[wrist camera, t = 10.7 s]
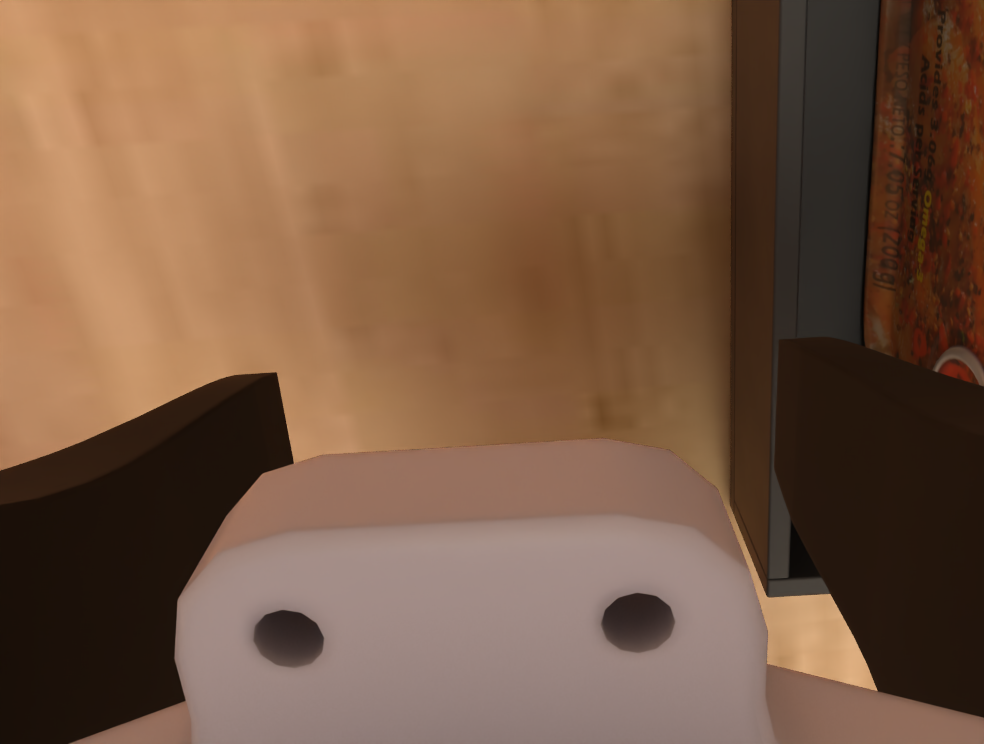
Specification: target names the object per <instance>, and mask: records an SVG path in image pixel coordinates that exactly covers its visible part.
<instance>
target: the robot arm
mask: <svg viewBox="0 0 984 744" xmlns="http://www.w3.org/2000/svg"><path fill="white" fill-rule="evenodd" d="M774 470H775V473H776V477H777V480H778V483H779V486H780V489H781V492H782V495H783V498H784V501H785V504H786V506H787V509H788V512H789V515H790V518H791V520H792V523H793V525H794V527H795V529H796V530H797V532H798V534H799V536H800V538H801V540H802V542H803V544H804V546H805V548H806V549H807V551H808V553H809V555H810V557H811V559H812V561H813V563H814V564H815V566H816V568H817V570H818V572H819V574H820V575H821V577H822V579H823V581H824V583H825V585H826V586H827V588H828V590H829V592H830V594H831V596H832V597H833V599H834V601H835V603H836V605H837V607H838V608H839V610H840V612H841V614H842V616H843V618H844V619H845V621H846V623H847V625H848V627H849V629H850V630H851V632H852V634H853V636H854V638H855V640H856V642H857V644H858V646H859V648H860V650H861V652H862V655H863V657H864V659H865V661H866V663H867V665H868V668H869V670H870V673H871V675H872V678H873V680H874V683H875V685H876V688H877V690H878V691H874V690H870V689H866V688H862V687H858V686H854V685H850V684H846V683H842V682H838V681H834V680H830V679H826V678H822V677H818V676H814V675H810V674H806V673H802V672H797V671H793V670H789V669H785V668H781V667H777V666H773V665H769V664H767V644H768V630H767V627H766V624H765V620H764V617H763V614H762V610H761V607H760V604H759V600H758V597H757V594H756V590H755V587H754V584H753V580H752V577H751V574H750V571H749V568H748V565H747V563H746V560H745V558H744V555H743V553H742V550H741V548H740V545H739V542H738V540H737V537H736V535H735V532H734V530H733V527H732V525H731V522H730V519H729V517H728V514H727V512H726V509H725V507H724V504H723V502H722V499H721V496H720V494H719V491H718V489H717V488H716V487H715V486H713V485H712V484H711V483H710V482H708V481H707V480H706V479H705V478H704V477H702V476H701V475H700V474H699V473H697V472H696V471H695V470H694V469H693V468H691V467H690V466H689V465H688V464H686V463H685V462H684V461H683V460H682V459H680V458H679V457H678V456H677V455H675V454H674V453H673V452H672V451H671V450H668V449H662V448H656V447H651V446H645V445H639V444H634V443H628V442H623V441H617V440H611V439H606V438H597V439H581V440H564V441H547V442H530V443H513V444H496V445H479V446H463V447H446V448H429V449H412V450H395V451H378V452H361V453H344V454H328V455H320V456H317V457H314V458H310V459H307V460H304V461H301V462H298V463H295V464H294V461H293V456H292V451H291V445H290V440H289V435H288V430H287V424H286V419H285V414H284V408H283V403H282V398H281V393H280V387H279V382H278V377H277V372H275V373H259V374H244V375H234V376H229V377H225V378H222V379H219V380H217V381H214V382H211V383H209V384H207V385H204V386H202V387H200V388H198V389H195V390H193V391H191V392H189V393H187V394H185V395H183V396H180V397H178V398H176V399H174V400H172V401H170V402H168V403H166V404H164V405H162V406H160V407H158V408H156V409H153V410H151V411H149V412H147V413H145V414H143V415H141V416H139V417H137V418H134V419H132V420H130V421H128V422H125V423H123V424H121V425H119V426H116V427H114V428H112V429H110V430H107V431H105V432H103V433H101V434H98V435H96V436H94V437H92V438H89V439H87V440H85V441H83V442H80V443H78V444H75V445H73V446H70V447H68V448H65V449H62V450H60V451H57V452H54V453H52V454H49V455H46V456H43V457H40V458H37V459H34V460H32V461H29V462H26V463H23V464H20V465H17V466H14V467H11V468H7V469H4V470H1V471H0V744H984V386H981V385H978V384H974V383H971V382H968V381H964V380H961V379H957V378H954V377H951V376H948V375H945V374H942V373H939V372H936V371H933V370H930V369H927V368H924V367H921V366H918V365H915V364H912V363H909V362H907V361H904V360H901V359H898V358H895V357H893V356H890V355H887V354H884V353H881V352H878V351H876V350H873V349H870V348H867V347H864V346H861V345H858V344H855V343H852V342H848V341H845V340H841V339H837V338H832V337H809V338H794V339H779V350H778V376H777V401H776V427H775V453H774Z"/></svg>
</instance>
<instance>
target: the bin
mask: <svg viewBox="0 0 984 744" xmlns="http://www.w3.org/2000/svg"><path fill="white" fill-rule="evenodd" d="M880 10H881V0H732V165H731V474H730V506H731V509H732V511H733V513H734V516H735V518H736V521H737V523H738V526H739V528H740V531H741V533H742V536H743V538H744V541H745V543H746V546H747V548H748V551H749V553H750V556H751V558H752V561H753V563H754V566H755V568H756V571H757V573H758V576H759V578H760V581H761V583H762V586H763V588H764V591H765V593H766V595H767V597H784V596H801V595H818V594H830V592H829V590H828V588H827V586H826V585H825V583H824V581H823V579H822V577H821V575H820V574H819V572H818V570H817V568H816V566H815V564H814V563H813V561H812V559H811V557H810V555H809V553H808V551H807V549H806V548H805V546H804V544H803V542H802V540H801V538H800V536H799V534H798V532H797V530H796V529H795V527H794V525H793V523H792V520H791V518H790V515H789V512H788V509H787V506H786V504H785V501H784V498H783V495H782V492H781V489H780V486H779V483H778V480H777V477H776V473H775V470H774V453H775V427H776V401H777V376H778V350H779V339H794V338H809V337H832V338H837V339H841V340H845V341H848V342H852V343H855V344H858V345H861V346H864V347H865V341H864V286H865V267H866V255H867V236H868V215H869V198H870V188H871V171H872V153H873V134H874V115H875V97H876V79H877V64H878V43H879V25H880Z"/></svg>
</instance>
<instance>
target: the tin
mask: <svg viewBox="0 0 984 744" xmlns="http://www.w3.org/2000/svg"><path fill="white" fill-rule="evenodd" d="M864 341H865V347H867V348H870V349H873V350H876V351H878V352H881V353H884V354H887V355H890V356H893V357H895V358H898V359H901V360H904V361H907V362H909V363H912V364H915V365H918V366H921V367H924V368H927V369H930V370H933V371H936V372H939V373H942V374H945V375H948V376H951V377H954V378H957V379H961V380H964V381H968V382H971V383H974V384H978V385H981V386H984V0H881V10H880V25H879V43H878V64H877V79H876V97H875V115H874V134H873V153H872V171H871V188H870V198H869V215H868V236H867V255H866V267H865V286H864Z"/></svg>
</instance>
